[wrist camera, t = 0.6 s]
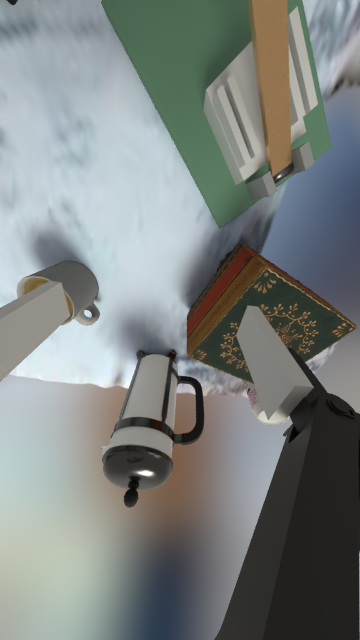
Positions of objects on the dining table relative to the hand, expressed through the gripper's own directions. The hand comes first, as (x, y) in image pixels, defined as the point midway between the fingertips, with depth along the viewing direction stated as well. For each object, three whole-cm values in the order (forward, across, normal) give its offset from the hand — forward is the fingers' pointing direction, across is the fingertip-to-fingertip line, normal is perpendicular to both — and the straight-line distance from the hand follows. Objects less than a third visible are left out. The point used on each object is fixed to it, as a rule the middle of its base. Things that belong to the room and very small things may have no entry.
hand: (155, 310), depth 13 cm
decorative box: (+26, +16, -10) cm, 32 cm away
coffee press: (+26, 0, -33) cm, 42 cm away
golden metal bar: (+16, +8, +17) cm, 24 cm away
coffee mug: (+26, -21, -12) cm, 36 cm away
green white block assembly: (+26, +5, +20) cm, 33 cm away
